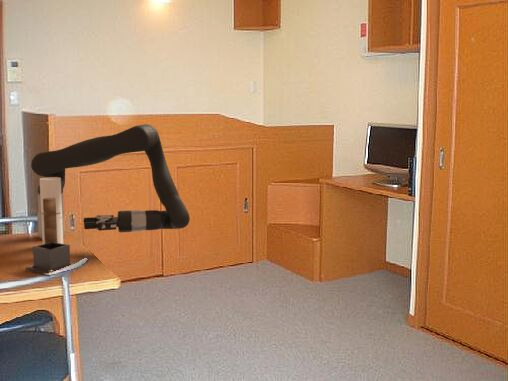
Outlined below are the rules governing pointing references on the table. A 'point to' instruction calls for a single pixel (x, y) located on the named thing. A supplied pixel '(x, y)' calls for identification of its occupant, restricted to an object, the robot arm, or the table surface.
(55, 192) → the cream tall block
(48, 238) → the walnut rail
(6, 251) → the table surface
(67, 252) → the dark grey open box
